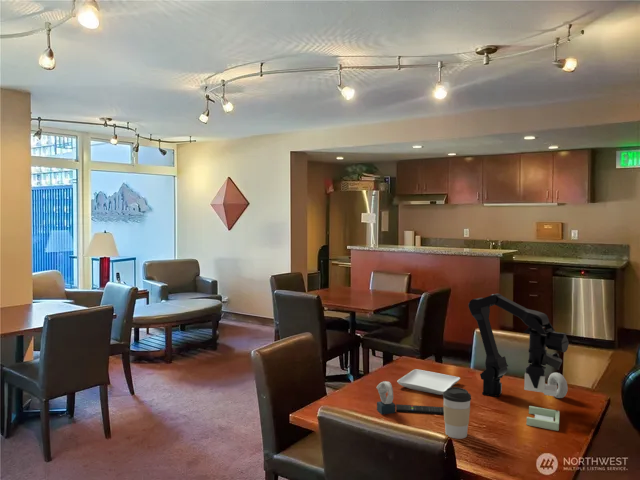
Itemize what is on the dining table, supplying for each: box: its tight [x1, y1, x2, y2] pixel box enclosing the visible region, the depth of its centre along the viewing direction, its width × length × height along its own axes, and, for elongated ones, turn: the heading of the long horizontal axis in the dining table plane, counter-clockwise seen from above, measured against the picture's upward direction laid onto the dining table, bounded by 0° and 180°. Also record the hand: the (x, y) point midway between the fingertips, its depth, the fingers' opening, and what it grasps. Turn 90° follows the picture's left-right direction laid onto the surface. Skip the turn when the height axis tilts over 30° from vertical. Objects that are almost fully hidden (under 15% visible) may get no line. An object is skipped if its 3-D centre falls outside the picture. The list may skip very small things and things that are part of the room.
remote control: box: [395, 403, 444, 416], centre depth 181 cm, size 5×24×1 cm, turn 82°
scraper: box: [523, 372, 558, 397], centre depth 185 cm, size 11×7×6 cm, turn 63°
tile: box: [534, 414, 554, 421], centre depth 173 cm, size 6×6×2 cm
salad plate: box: [396, 368, 461, 396], centre depth 209 cm, size 21×21×3 cm
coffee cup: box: [442, 386, 472, 440], centre depth 162 cm, size 9×9×15 cm
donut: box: [547, 372, 569, 399], centre depth 196 cm, size 10×4×10 cm, turn 10°
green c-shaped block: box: [526, 405, 560, 432], centre depth 173 cm, size 10×12×2 cm
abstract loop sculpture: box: [376, 380, 396, 415], centre depth 181 cm, size 6×8×11 cm
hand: (536, 386), depth 186 cm, fingers closed on scraper, 2 cm apart
